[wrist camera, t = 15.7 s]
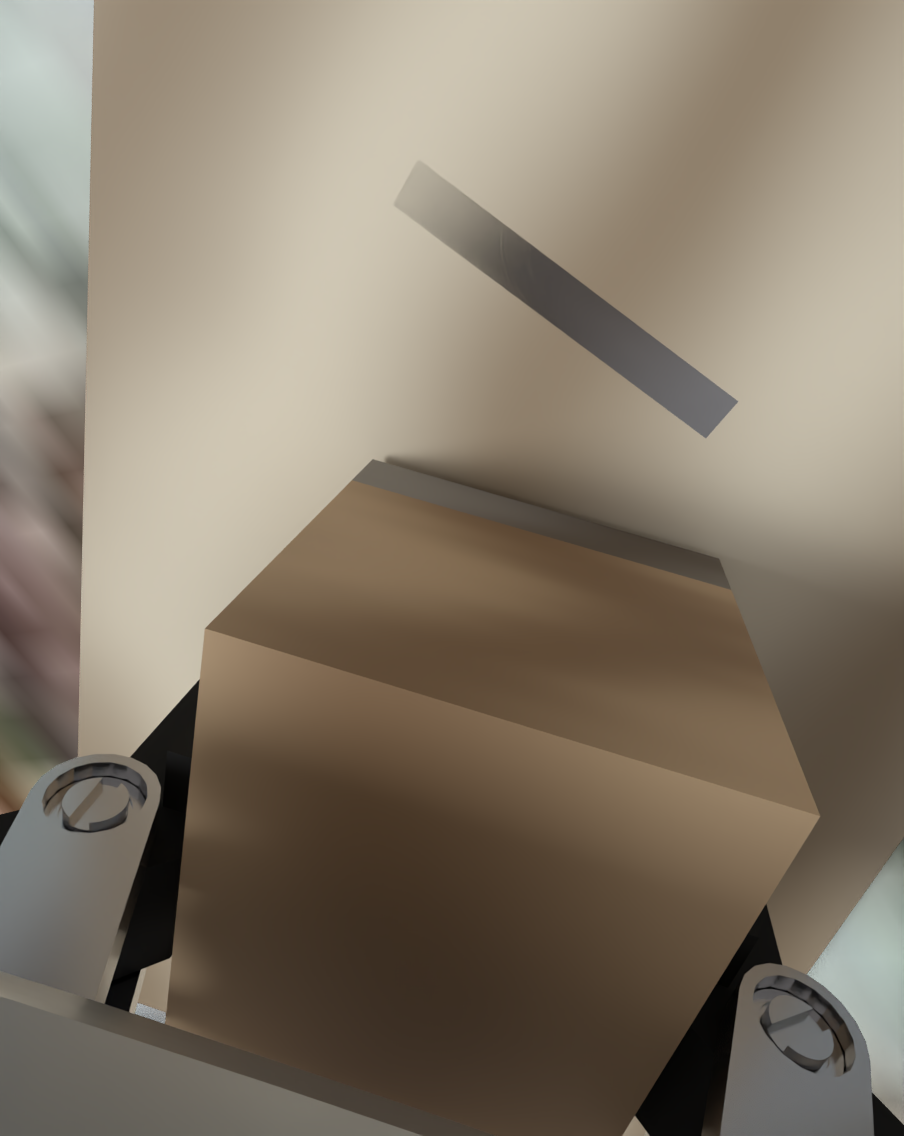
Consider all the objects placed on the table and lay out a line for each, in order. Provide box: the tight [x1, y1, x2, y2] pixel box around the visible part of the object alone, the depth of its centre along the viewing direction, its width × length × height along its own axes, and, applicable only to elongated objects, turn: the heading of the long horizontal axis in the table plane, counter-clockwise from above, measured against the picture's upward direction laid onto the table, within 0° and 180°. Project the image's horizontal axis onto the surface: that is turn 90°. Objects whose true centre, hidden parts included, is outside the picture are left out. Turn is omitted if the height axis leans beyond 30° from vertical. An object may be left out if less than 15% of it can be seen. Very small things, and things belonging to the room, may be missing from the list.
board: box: [78, 0, 904, 1136], centre depth 11 cm, size 14×28×2 cm, turn 166°
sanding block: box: [165, 459, 820, 1136], centre depth 10 cm, size 5×9×5 cm, turn 167°
